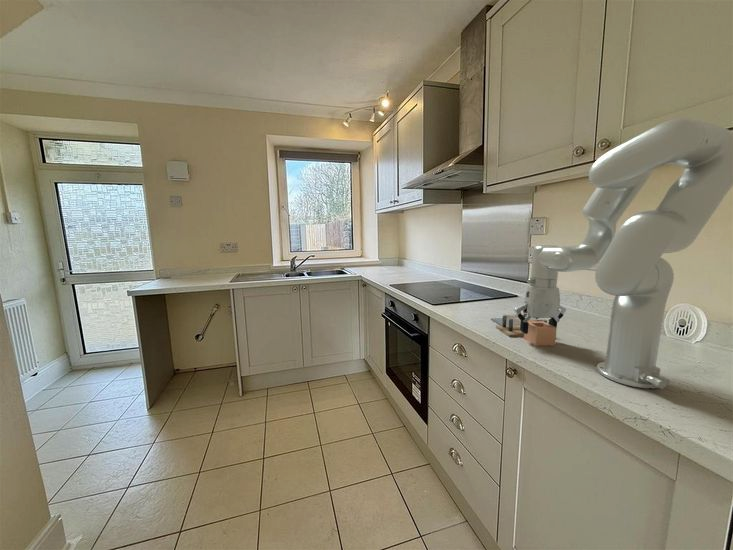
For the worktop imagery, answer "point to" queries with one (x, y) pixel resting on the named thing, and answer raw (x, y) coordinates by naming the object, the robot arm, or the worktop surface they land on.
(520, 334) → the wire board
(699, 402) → the worktop surface
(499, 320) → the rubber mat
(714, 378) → the worktop surface
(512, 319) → the grey small table
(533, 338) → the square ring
